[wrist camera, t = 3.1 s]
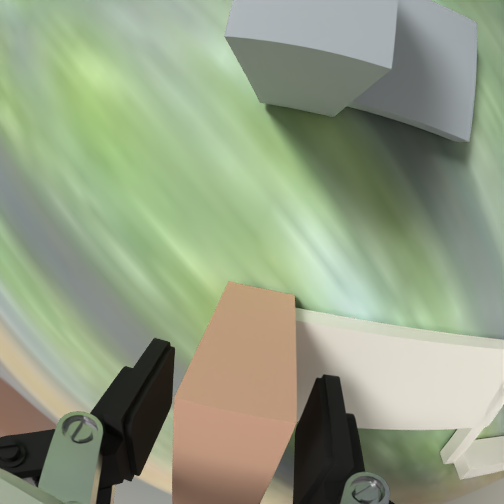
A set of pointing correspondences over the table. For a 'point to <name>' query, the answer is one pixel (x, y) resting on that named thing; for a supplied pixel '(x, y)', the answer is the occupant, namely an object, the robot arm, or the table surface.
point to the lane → (301, 383)
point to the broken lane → (361, 59)
